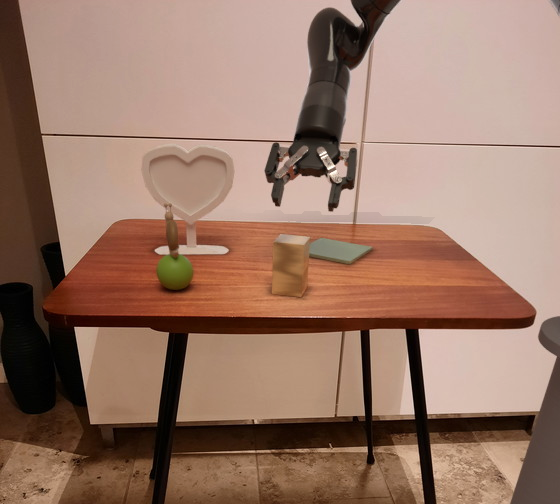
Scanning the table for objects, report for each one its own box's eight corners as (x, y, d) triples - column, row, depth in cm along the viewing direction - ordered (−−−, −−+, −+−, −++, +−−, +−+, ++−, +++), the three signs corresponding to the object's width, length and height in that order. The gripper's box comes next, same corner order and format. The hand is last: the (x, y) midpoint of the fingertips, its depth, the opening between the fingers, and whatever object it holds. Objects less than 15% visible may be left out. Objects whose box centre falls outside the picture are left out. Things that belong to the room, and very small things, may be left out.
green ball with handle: (189, 279, 87) (186, 202, 81) (196, 293, 81) (193, 212, 76) (155, 282, 85) (148, 203, 79) (160, 296, 80) (153, 213, 74)
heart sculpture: (148, 254, 97) (138, 146, 89) (150, 246, 102) (141, 142, 93) (235, 254, 99) (234, 148, 91) (233, 246, 104) (232, 144, 95)
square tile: (372, 250, 105) (372, 246, 104) (349, 264, 96) (350, 261, 96) (321, 240, 109) (321, 237, 109) (295, 253, 101) (295, 250, 101)
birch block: (307, 287, 85) (310, 236, 82) (301, 297, 82) (304, 244, 78) (278, 284, 86) (280, 233, 82) (271, 294, 82) (273, 241, 79)
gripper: (275, 100, 87) (254, 188, 83) (365, 105, 84) (348, 195, 80) (282, 133, 94) (263, 215, 90) (365, 138, 91) (349, 223, 87)
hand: (303, 206), depth 85 cm, fingers open, 8 cm apart
